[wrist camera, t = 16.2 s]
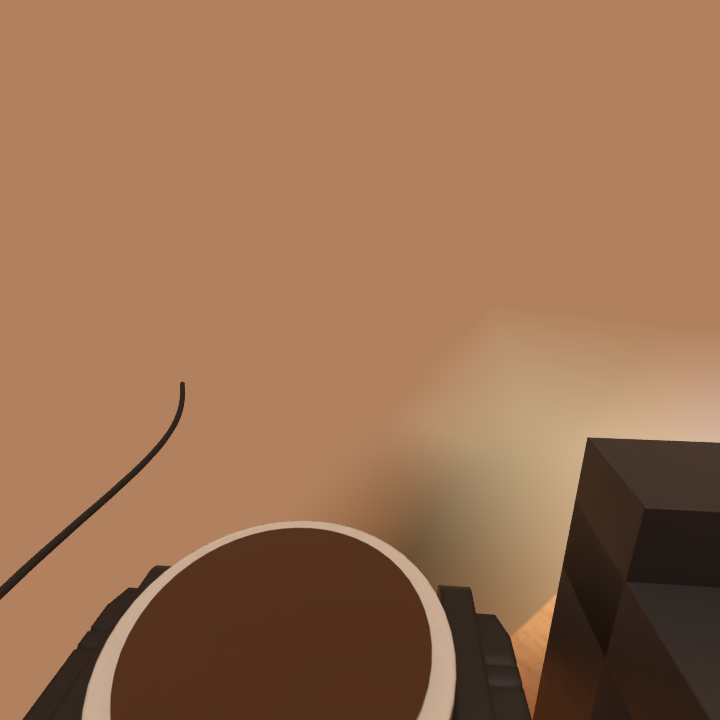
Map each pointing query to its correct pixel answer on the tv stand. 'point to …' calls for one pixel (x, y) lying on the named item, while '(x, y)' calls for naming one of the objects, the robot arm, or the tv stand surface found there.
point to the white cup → (281, 634)
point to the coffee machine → (639, 588)
